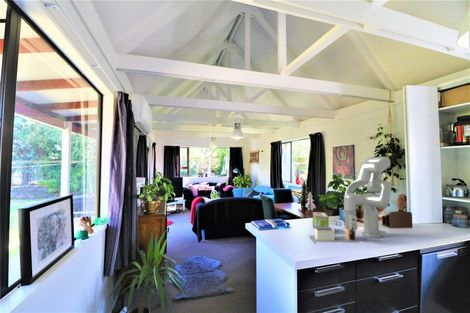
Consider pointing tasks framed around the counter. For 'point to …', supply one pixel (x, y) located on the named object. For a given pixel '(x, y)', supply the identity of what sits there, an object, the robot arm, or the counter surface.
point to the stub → (349, 233)
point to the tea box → (320, 219)
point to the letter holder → (398, 220)
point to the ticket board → (340, 238)
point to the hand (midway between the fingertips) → (350, 238)
